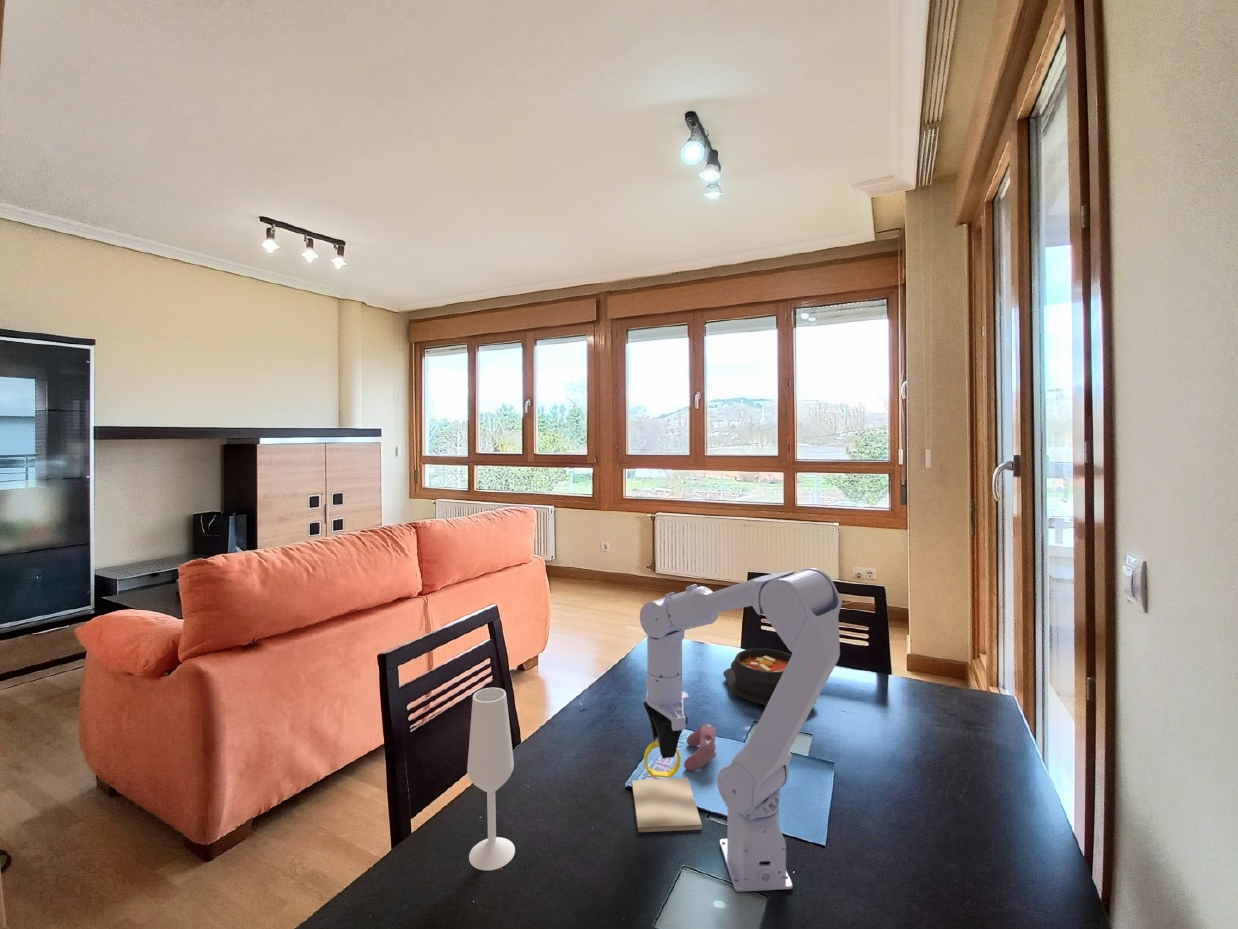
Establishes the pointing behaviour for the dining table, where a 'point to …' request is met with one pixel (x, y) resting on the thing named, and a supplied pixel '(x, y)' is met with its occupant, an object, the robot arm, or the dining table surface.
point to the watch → (660, 773)
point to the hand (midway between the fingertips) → (664, 751)
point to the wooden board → (665, 805)
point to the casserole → (756, 673)
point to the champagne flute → (490, 770)
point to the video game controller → (701, 747)
